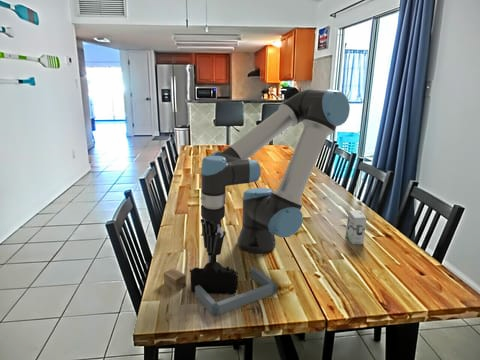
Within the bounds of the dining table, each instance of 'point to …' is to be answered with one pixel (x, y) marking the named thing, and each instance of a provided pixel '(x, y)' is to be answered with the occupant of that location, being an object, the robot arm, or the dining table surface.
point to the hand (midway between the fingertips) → (211, 270)
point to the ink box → (356, 227)
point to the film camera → (214, 279)
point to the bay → (241, 299)
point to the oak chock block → (174, 279)
